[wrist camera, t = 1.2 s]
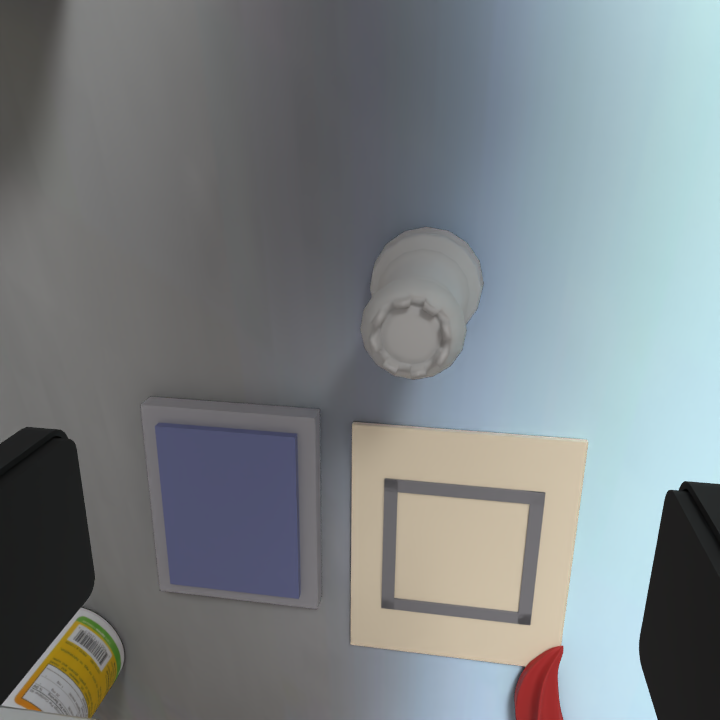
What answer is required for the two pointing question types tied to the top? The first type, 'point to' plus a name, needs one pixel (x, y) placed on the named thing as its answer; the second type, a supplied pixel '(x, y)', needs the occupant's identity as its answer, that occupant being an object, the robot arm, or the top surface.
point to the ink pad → (235, 499)
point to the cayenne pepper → (539, 688)
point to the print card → (462, 540)
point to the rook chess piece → (421, 302)
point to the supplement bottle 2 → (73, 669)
